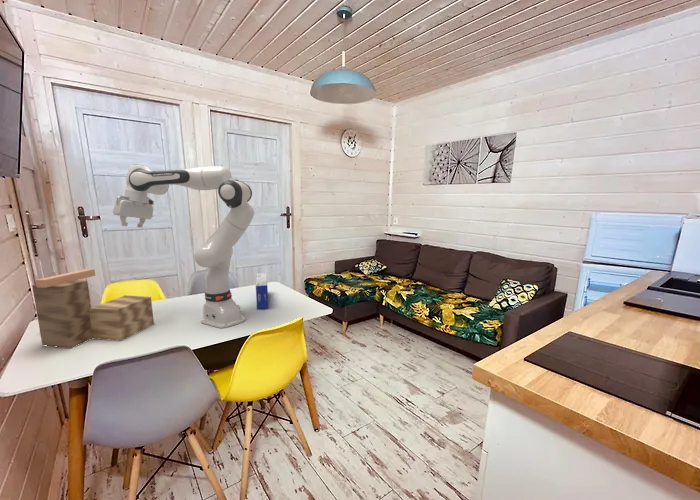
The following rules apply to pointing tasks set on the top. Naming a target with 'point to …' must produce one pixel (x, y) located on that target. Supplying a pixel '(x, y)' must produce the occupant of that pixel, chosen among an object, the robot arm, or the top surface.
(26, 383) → the top surface
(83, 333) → the brown wooden stepped block
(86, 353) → the top surface
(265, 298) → the ink box
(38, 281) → the long slim case
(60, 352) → the top surface
